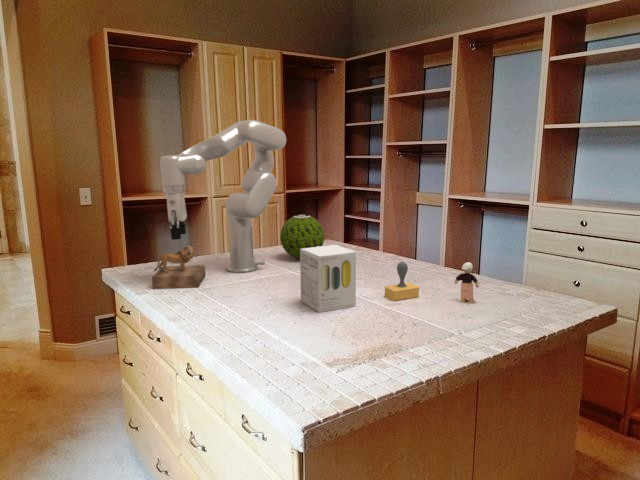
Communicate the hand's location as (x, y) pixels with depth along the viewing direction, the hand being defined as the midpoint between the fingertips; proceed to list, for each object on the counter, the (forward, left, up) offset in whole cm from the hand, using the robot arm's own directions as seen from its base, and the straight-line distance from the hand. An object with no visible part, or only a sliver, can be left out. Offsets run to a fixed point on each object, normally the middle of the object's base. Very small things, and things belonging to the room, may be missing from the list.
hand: (179, 236), depth 172 cm
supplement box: (-51, +32, -18) cm, 63 cm away
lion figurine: (+2, 0, -13) cm, 13 cm away
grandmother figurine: (-95, +35, -18) cm, 103 cm away
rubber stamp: (-76, +28, -18) cm, 83 cm away
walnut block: (0, +1, -18) cm, 18 cm away
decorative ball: (-47, -34, -18) cm, 61 cm away
